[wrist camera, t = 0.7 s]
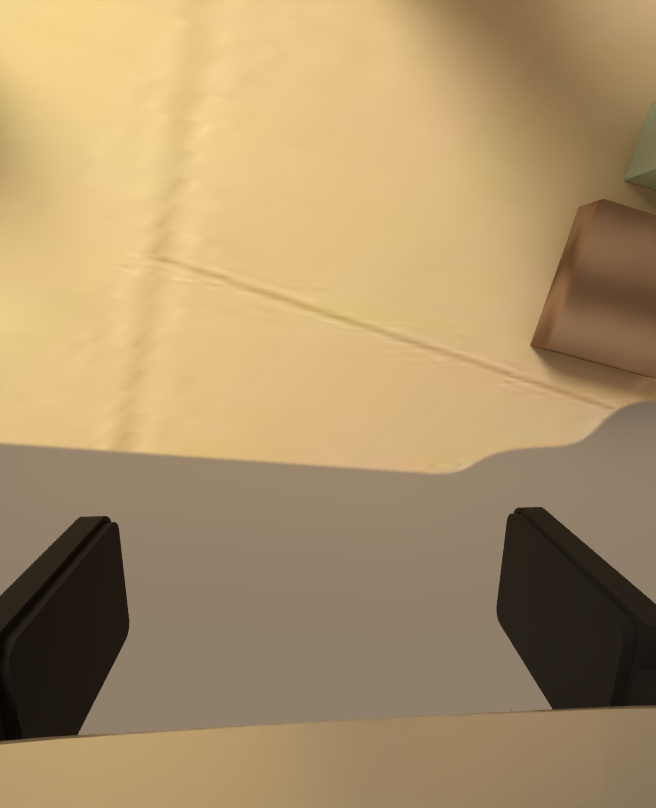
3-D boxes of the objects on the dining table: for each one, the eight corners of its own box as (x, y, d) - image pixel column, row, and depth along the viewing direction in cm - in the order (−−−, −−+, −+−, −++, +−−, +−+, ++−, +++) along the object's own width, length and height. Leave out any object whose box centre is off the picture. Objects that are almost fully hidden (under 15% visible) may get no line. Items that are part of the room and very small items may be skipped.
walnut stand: (579, 207, 36) (603, 199, 34) (701, 245, 38) (735, 240, 35) (530, 345, 39) (549, 349, 36) (647, 376, 40) (674, 382, 38)
